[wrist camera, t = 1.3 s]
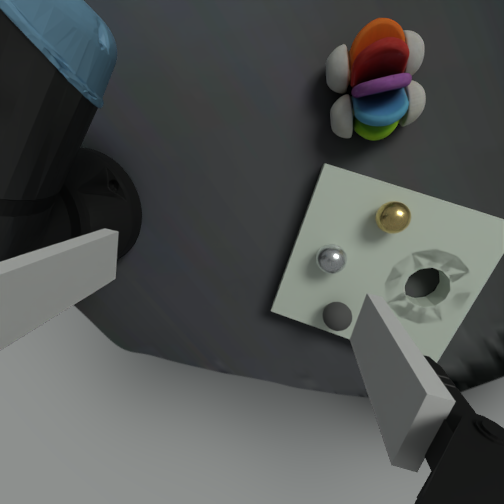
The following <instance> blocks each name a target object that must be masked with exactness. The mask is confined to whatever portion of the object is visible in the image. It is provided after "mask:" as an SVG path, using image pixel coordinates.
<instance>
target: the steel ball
mask: <svg viewBox="0 0 504 504" xmlns="http://www.w3.org/2000/svg"><path fill="white" fill-rule="evenodd" d="M316 263H317V265H318V267H319V269H320V270H322V271H323V272H325V273H327V274H336V273H339V272H340V271H342V270H343V269H344V268H345V266H346V264H347V255H346V252H345V251H344V249H343V248H342V247H340V246H338V245H335V244H328V245H325V246H323V247H321V248H320V249H319V251H318V252H317V255H316Z"/></svg>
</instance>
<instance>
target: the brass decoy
mask: <svg viewBox="0 0 504 504" xmlns="http://www.w3.org/2000/svg"><path fill="white" fill-rule="evenodd" d="M375 220H376V224H377V226H378V227H379V228H380V229H381V230H382V231H384V232H386V233H390V234H395V233H399V232H401V231H403V230H405V229H406V228H407V227H408V226H409V224H410V222H411V211H410V209H409V208H408V207H407V206H406V205H405V204H404V203H402V202H398V201H390V202H387V203H385V204H383V205H382V206H381V207H380V208H379V209H378V210H377V212H376V216H375Z"/></svg>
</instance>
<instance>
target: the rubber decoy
mask: <svg viewBox="0 0 504 504" xmlns="http://www.w3.org/2000/svg"><path fill="white" fill-rule="evenodd" d="M322 316H323V321H324V323H325V324H326V326H327V327H328V328H330V329H332V330H334V331H342V330H345V329H347V328H348V327H349V326H350V324H351V322H352V312H351V310H350V309H349V307H348V306H347V305H345V304H344V303H341V302H332V303H329V304H328V305H327V306H326V307H325V308H324V310H323V315H322Z"/></svg>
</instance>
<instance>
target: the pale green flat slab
mask: <svg viewBox="0 0 504 504" xmlns="http://www.w3.org/2000/svg"><path fill="white" fill-rule="evenodd" d="M390 201H398V202H402V203H404V204H405V205H406V206H407V207H408V208H409V209H410V211H411V222H410V224H409V226H408V227H407V228H406V229H405V230H403V231H401V232H399V233H395V234H390V233H386V232H384V231H382V230H381V229H380V228H379V227H378V226H377V224H376V220H375V216H376V212H377V210H378V209H379V208H380V207H381V206H382V205H383V204H385V203H387V202H390ZM328 244H335V245H338V246H340V247H342V248H343V249H344V251H345V252H346V255H347V264H346V266H345V268H344V269H343V270H342V271H340V272H339V273H336V274H327V273H325V272H323V271H322V270H320V269H319V267H318V265H317V263H316V255H317V252H318V251H319V249H320V248H321V247H323V246H325V245H328ZM503 253H504V219H501V218H498V217H494V216H491V215H488V214H485V213H482V212H479V211H475V210H472V209H469V208H466V207H463V206H459V205H456V204H453V203H450V202H447V201H443V200H440V199H437V198H434V197H431V196H428V195H424V194H421V193H418V192H415V191H412V190H408V189H405V188H402V187H399V186H396V185H392V184H389V183H386V182H383V181H380V180H377V179H373V178H370V177H367V176H364V175H361V174H357V173H354V172H351V171H348V170H345V169H341V168H338V167H335V166H332V165H329V164H326V163H325V164H323V166H322V168H321V171H320V174H319V177H318V179H317V182H316V185H315V188H314V190H313V193H312V196H311V199H310V201H309V204H308V207H307V210H306V212H305V215H304V218H303V221H302V223H301V226H300V229H299V232H298V234H297V237H296V240H295V243H294V245H293V248H292V251H291V254H290V256H289V259H288V262H287V265H286V267H285V270H284V273H283V276H282V278H281V281H280V284H279V287H278V289H277V292H276V295H275V298H274V300H273V304H272V308H271V311H272V312H274V313H277V314H280V315H283V316H286V317H288V318H291V319H294V320H297V321H300V322H302V323H305V324H308V325H311V326H314V327H316V328H319V329H322V330H325V331H328V332H330V333H333V334H336V335H339V336H342V337H344V338H347V339H350V337H351V335H352V332H353V329H354V326H355V324H356V321H357V318H358V316H359V313H360V310H361V308H362V305H363V302H364V299H365V297H366V294H367V293H369V294H373V295H377V296H381V297H383V298H384V300H385V301H386V303H387V304H388V306H389V307H390V308H391V310H392V311H393V313H394V314H395V316H396V317H397V318H398V320H399V321H400V323H401V324H402V326H403V327H404V328H405V330H406V331H407V333H408V334H409V336H410V337H411V338H412V340H413V341H414V343H415V344H416V346H417V347H418V348H419V350H420V351H421V353H422V354H423V355H425V356H429V357H430V358H431V359H433V360H434V361H435V362H436V363H437V362H438V360H439V359H440V357H441V355H442V354H443V352H444V350H445V349H446V347H447V345H448V344H449V342H450V340H451V339H452V337H453V336H454V334H455V332H456V331H457V329H458V327H459V326H460V324H461V322H462V321H463V319H464V317H465V316H466V314H467V313H468V311H469V309H470V308H471V306H472V304H473V303H474V301H475V299H476V298H477V296H478V294H479V293H480V291H481V290H482V288H483V286H484V285H485V283H486V281H487V280H488V278H489V276H490V275H491V273H492V271H493V270H494V268H495V267H496V265H497V263H498V262H499V260H500V258H501V257H502V255H503ZM425 268H435V269H437V270H438V271H439V279H440V282H439V284H438V285H437V287H436V289H435V291H433V292H432V293H430V294H429V295H427V296H425V297H418V298H413V297H410V296H407V295H405V284H406V282H407V280H408V278H409V276H410V275H412V274H413V273H415V272H416V271H418V270H419V269H425ZM332 302H341V303H344V304H345V305H347V306H348V307H349V309H350V310H351V312H352V322H351V324H350V326H349V327H348V328H347V329H345V330H342V331H334V330H332V329H330V328H328V327H327V326H326V324H325V323H324V321H323V316H322V315H323V310H324V308H325V307H326V306H327V305H328V304H329V303H332Z"/></svg>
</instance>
